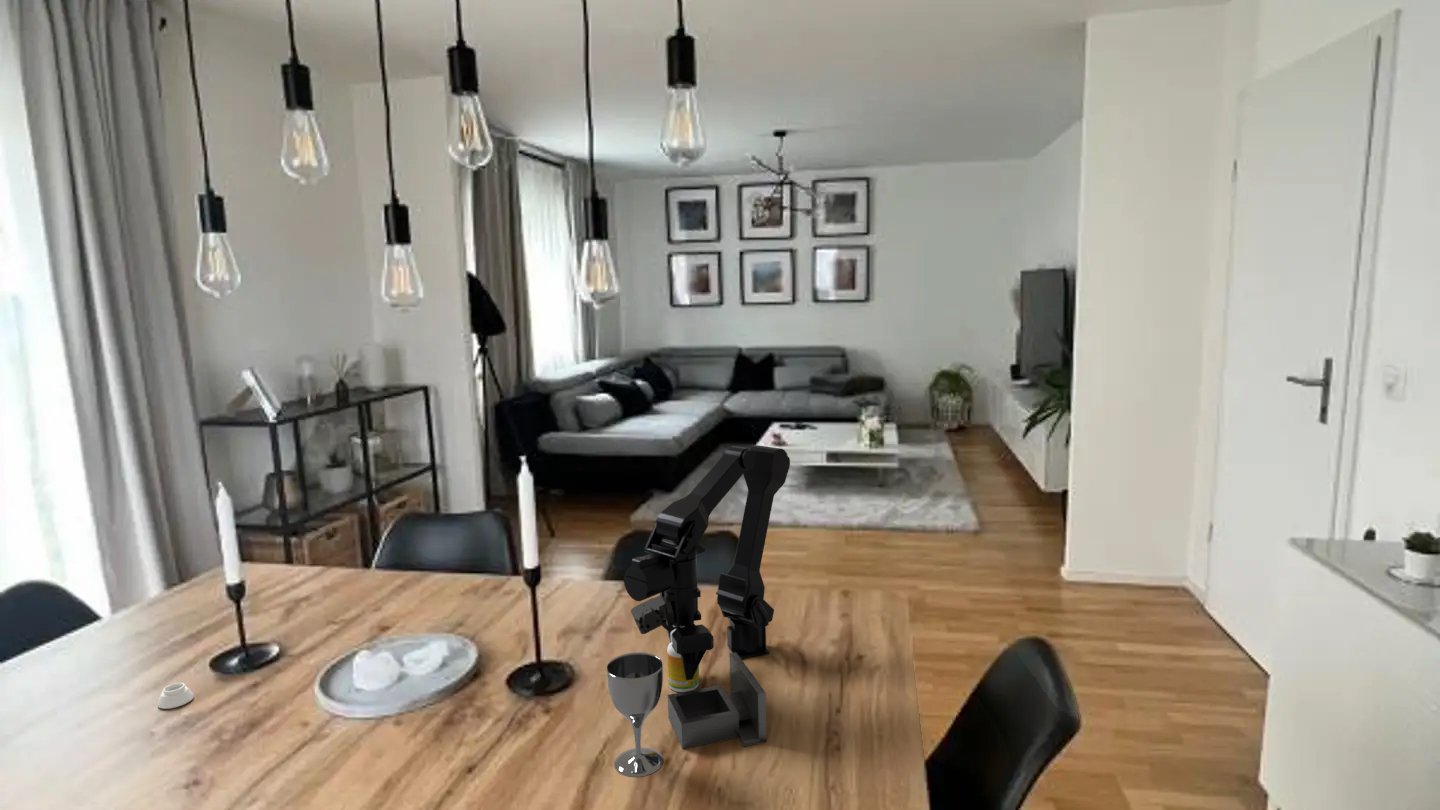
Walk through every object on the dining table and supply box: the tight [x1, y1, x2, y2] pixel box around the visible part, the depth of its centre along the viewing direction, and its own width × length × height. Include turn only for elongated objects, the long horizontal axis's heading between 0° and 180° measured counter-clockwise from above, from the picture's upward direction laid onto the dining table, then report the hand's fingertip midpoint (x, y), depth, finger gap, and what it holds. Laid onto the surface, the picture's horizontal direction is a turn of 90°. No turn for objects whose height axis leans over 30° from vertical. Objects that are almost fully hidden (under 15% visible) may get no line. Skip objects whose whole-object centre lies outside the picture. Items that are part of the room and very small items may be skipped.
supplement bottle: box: [666, 629, 700, 693], centre depth 134 cm, size 5×5×10 cm
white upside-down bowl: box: [157, 682, 195, 710], centre depth 133 cm, size 5×3×5 cm
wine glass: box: [606, 652, 664, 778], centre depth 112 cm, size 8×8×15 cm
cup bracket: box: [667, 652, 767, 750], centre depth 121 cm, size 12×14×8 cm
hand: (683, 668), depth 134 cm, fingers open, 8 cm apart
